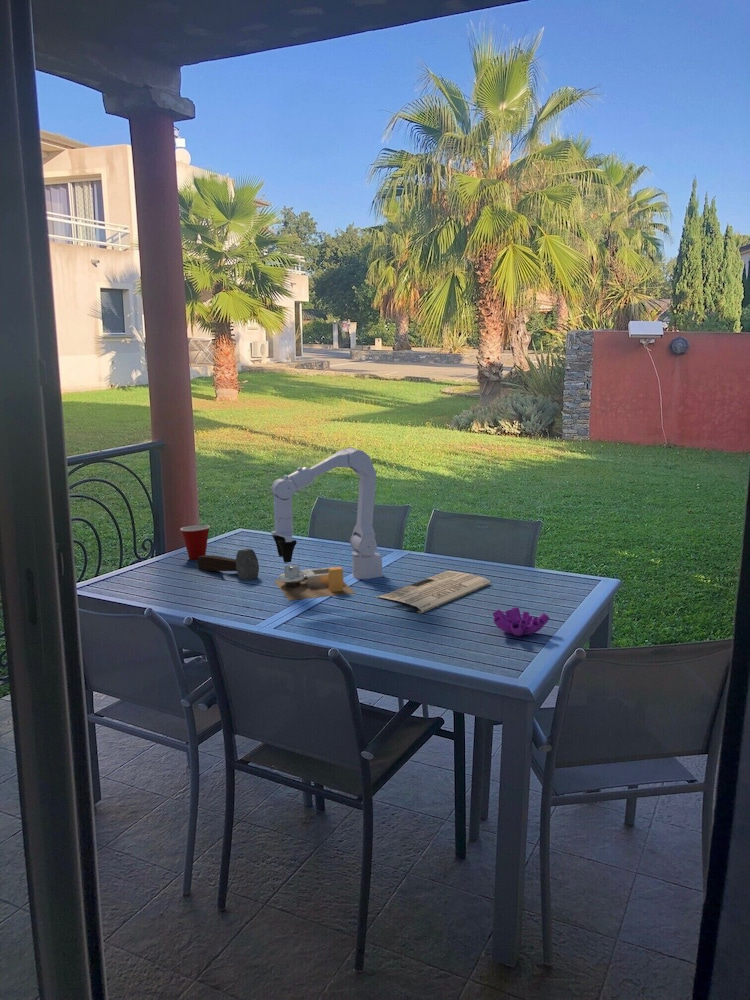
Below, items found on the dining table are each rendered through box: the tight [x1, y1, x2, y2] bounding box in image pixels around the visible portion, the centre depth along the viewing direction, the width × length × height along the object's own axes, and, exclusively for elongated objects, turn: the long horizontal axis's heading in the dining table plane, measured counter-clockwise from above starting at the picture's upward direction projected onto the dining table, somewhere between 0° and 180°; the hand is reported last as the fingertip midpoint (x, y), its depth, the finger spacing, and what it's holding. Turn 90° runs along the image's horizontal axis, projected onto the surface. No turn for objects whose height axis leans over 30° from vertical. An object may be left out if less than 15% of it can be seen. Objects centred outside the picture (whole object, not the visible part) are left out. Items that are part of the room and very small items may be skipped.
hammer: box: [196, 548, 260, 581], centre depth 267 cm, size 5×11×30 cm
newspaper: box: [375, 570, 491, 615], centre depth 245 cm, size 37×19×3 cm, turn 140°
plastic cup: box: [179, 524, 211, 561], centre depth 290 cm, size 11×11×12 cm
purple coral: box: [492, 606, 550, 637], centre depth 209 cm, size 11×15×10 cm
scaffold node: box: [278, 564, 335, 587], centre depth 252 cm, size 20×9×6 cm, turn 109°
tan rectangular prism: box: [327, 566, 344, 592], centre depth 244 cm, size 4×2×7 cm, turn 109°
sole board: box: [274, 579, 356, 602], centre depth 249 cm, size 21×22×2 cm
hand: (285, 559), depth 249 cm, fingers open, 7 cm apart
